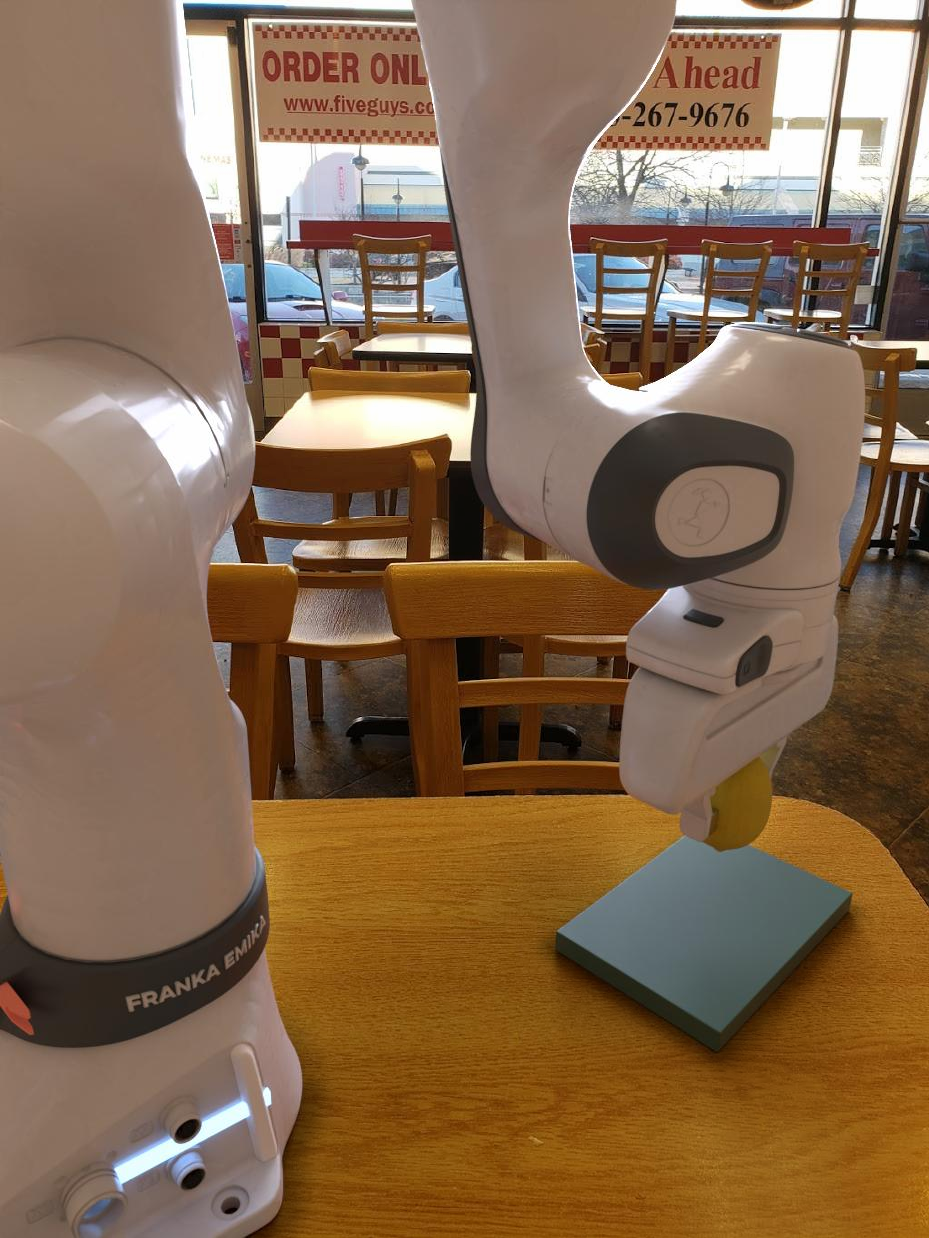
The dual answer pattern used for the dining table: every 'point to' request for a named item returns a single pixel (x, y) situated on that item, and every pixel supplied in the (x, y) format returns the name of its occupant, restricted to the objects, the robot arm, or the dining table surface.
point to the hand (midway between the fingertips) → (725, 812)
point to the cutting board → (704, 934)
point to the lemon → (741, 807)
